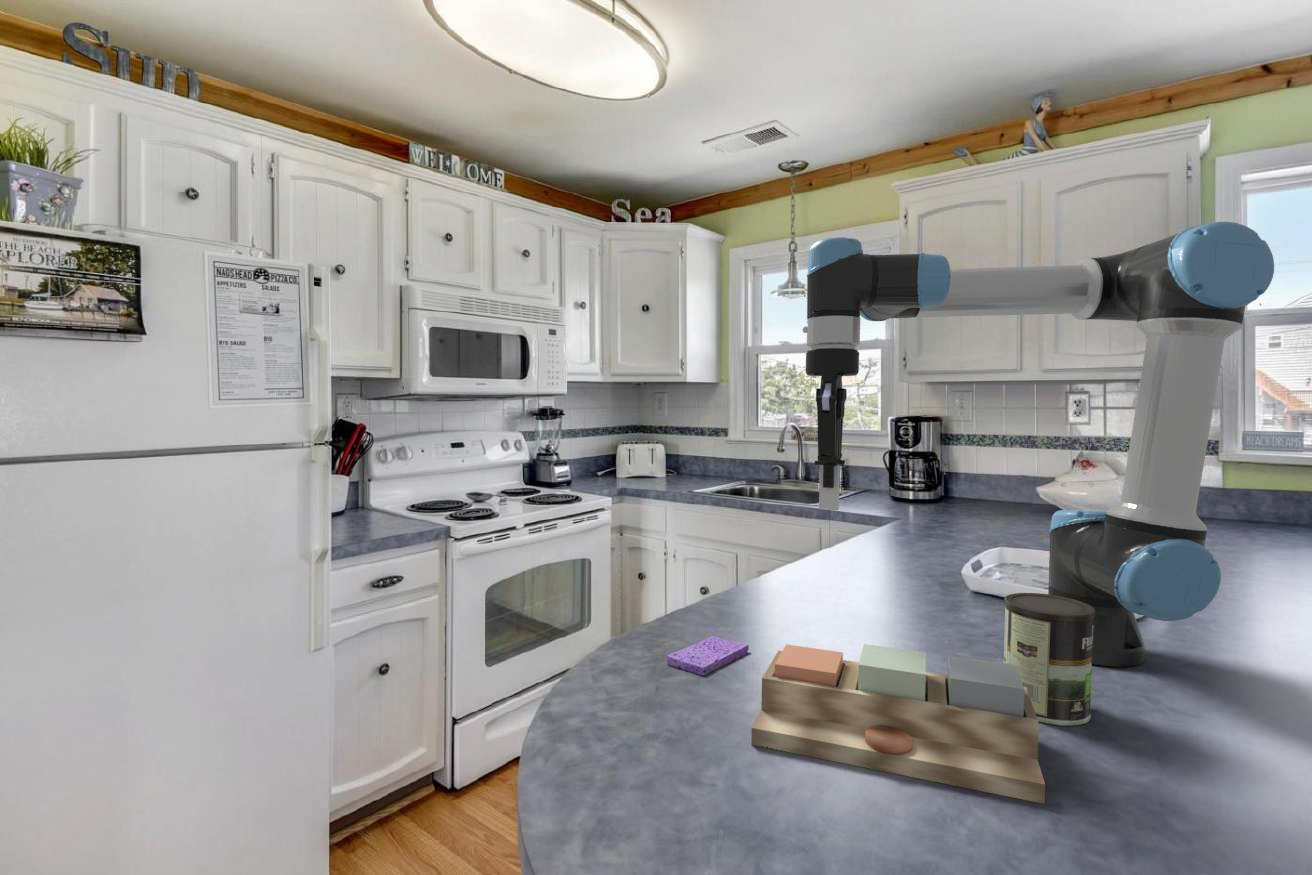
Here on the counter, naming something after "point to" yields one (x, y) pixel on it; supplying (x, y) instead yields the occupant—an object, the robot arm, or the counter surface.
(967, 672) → the grey key
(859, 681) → the sage key
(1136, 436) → the robot arm
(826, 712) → the key panel
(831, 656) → the terracotta key
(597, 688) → the counter surface
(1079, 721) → the coffee can
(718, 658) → the sponges
